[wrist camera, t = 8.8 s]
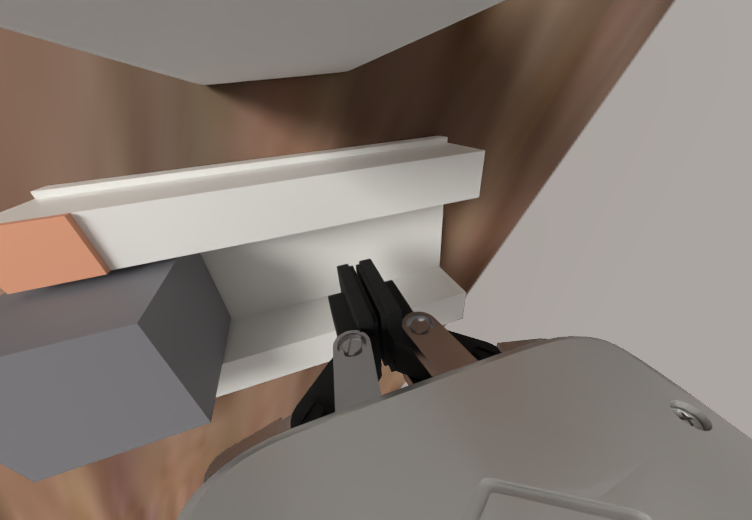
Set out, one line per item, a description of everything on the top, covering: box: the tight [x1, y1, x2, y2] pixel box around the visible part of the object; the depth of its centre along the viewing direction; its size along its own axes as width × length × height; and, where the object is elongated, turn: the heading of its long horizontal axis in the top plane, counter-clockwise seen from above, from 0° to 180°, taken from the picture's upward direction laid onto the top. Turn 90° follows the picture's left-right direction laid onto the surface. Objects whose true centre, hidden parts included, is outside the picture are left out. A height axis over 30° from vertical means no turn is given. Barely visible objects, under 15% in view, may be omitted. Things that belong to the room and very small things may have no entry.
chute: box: [0, 136, 485, 397], centre depth 16 cm, size 20×12×5 cm, turn 97°
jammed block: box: [0, 253, 231, 482], centre depth 12 cm, size 6×6×7 cm
